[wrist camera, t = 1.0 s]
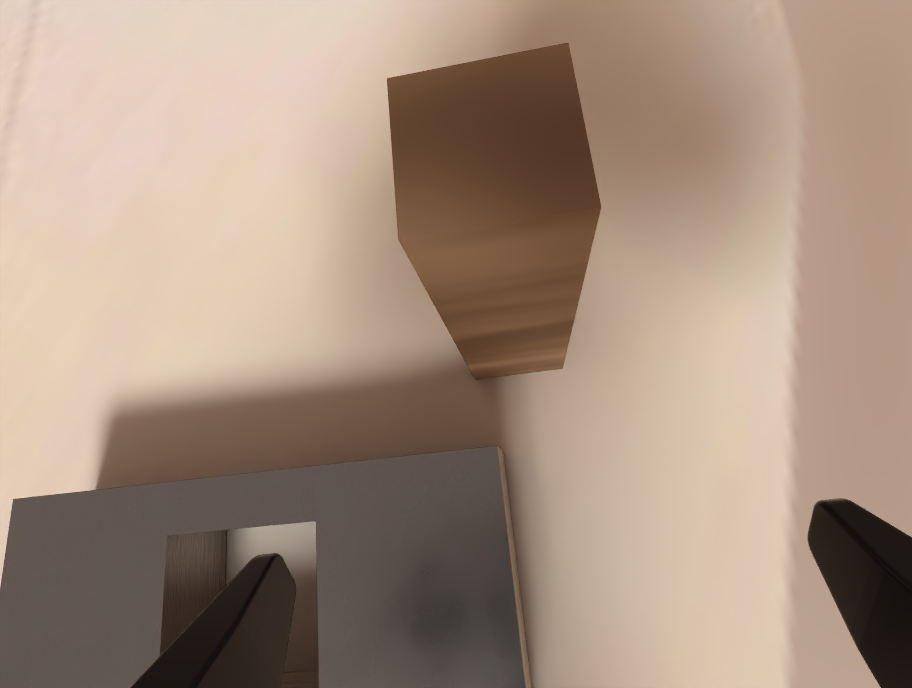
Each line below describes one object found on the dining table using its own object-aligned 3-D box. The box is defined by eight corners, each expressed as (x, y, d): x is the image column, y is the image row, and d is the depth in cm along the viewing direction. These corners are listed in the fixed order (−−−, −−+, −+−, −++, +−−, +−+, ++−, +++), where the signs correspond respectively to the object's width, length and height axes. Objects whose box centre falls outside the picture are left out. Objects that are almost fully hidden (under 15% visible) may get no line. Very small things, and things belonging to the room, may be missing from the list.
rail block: (535, 715, 20) (535, 770, 16) (69, 738, 22) (-29, 792, 18) (503, 452, 22) (497, 445, 19) (93, 497, 25) (13, 499, 21)
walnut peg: (562, 368, 23) (601, 206, 10) (475, 379, 24) (398, 239, 10) (549, 287, 24) (568, 42, 11) (466, 298, 25) (386, 78, 11)
